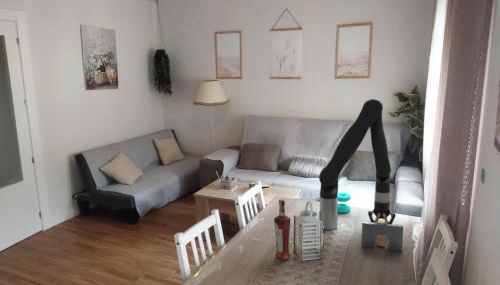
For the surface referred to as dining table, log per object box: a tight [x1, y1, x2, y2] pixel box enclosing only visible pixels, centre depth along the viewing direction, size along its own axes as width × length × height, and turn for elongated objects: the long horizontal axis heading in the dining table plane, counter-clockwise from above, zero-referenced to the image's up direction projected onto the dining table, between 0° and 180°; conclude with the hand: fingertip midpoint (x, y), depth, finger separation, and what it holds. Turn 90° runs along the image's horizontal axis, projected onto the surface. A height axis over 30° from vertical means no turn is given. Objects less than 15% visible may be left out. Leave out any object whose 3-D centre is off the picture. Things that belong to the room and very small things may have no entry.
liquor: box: [273, 198, 291, 261], centre depth 167 cm, size 7×7×28 cm
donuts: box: [337, 192, 352, 214], centre depth 221 cm, size 10×10×10 cm
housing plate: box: [361, 221, 404, 252], centre depth 174 cm, size 18×2×12 cm, turn 71°
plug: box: [375, 219, 387, 247], centre depth 185 cm, size 4×20×5 cm, turn 161°
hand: (381, 230), depth 192 cm, fingers closed on plug, 4 cm apart
